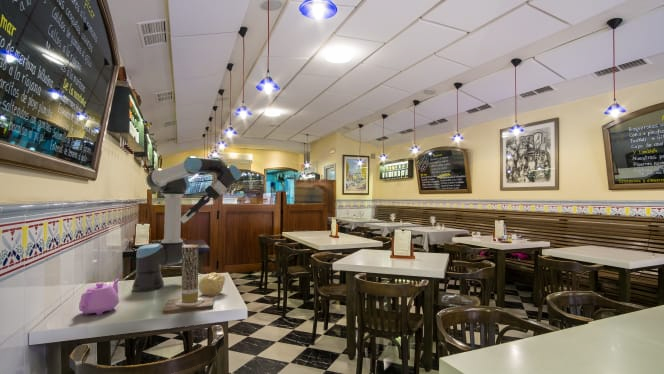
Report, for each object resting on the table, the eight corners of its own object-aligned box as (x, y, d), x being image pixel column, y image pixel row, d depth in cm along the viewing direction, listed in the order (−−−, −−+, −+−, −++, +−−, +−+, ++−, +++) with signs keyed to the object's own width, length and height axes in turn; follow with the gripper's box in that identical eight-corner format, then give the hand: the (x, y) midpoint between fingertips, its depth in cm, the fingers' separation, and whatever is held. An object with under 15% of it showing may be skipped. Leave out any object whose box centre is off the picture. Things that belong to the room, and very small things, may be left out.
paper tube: (200, 299, 156) (201, 244, 157) (193, 303, 149) (193, 246, 150) (186, 298, 157) (187, 244, 158) (178, 303, 150) (179, 246, 151)
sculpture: (216, 298, 165) (216, 275, 165) (194, 296, 167) (194, 274, 168) (228, 291, 176) (228, 270, 177) (207, 290, 179) (207, 270, 179)
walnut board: (167, 303, 157) (167, 298, 157) (213, 298, 164) (213, 294, 164) (162, 313, 142) (162, 309, 142) (212, 308, 148) (212, 304, 149)
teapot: (106, 303, 158) (106, 277, 159) (132, 304, 156) (133, 277, 156) (65, 318, 139) (66, 287, 139) (95, 319, 136) (95, 289, 137)
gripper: (221, 194, 161) (186, 227, 155) (220, 195, 184) (190, 224, 179) (209, 183, 159) (173, 216, 154) (210, 185, 183) (179, 214, 177)
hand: (182, 220), depth 166 cm, fingers open, 13 cm apart
